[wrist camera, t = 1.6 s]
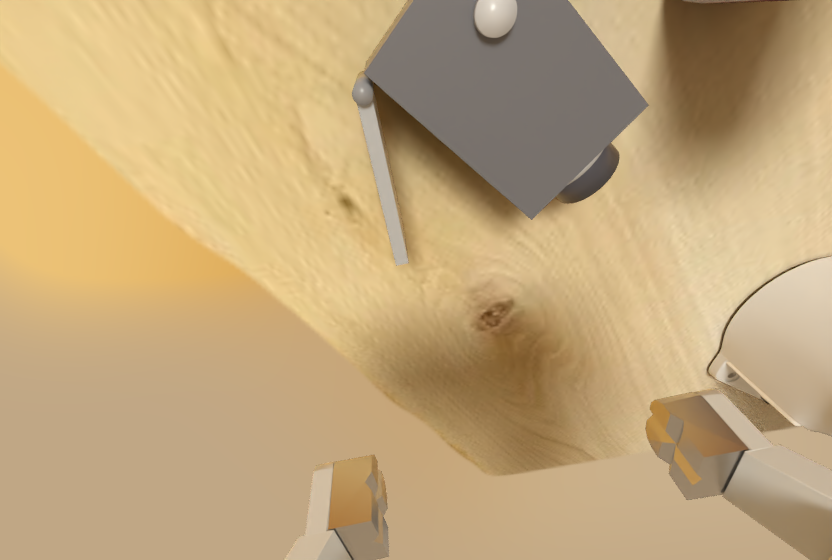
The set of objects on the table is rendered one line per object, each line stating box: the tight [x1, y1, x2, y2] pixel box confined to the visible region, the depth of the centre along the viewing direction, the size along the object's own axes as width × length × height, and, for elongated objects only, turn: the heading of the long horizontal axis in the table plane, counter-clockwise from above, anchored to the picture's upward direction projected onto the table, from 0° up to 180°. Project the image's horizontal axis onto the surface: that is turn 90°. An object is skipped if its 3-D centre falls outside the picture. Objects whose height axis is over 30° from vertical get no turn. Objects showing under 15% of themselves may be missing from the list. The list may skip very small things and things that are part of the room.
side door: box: [352, 71, 409, 266], centre depth 24 cm, size 10×1×6 cm, turn 10°
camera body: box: [364, 0, 648, 220], centre depth 22 cm, size 14×8×8 cm, turn 50°
